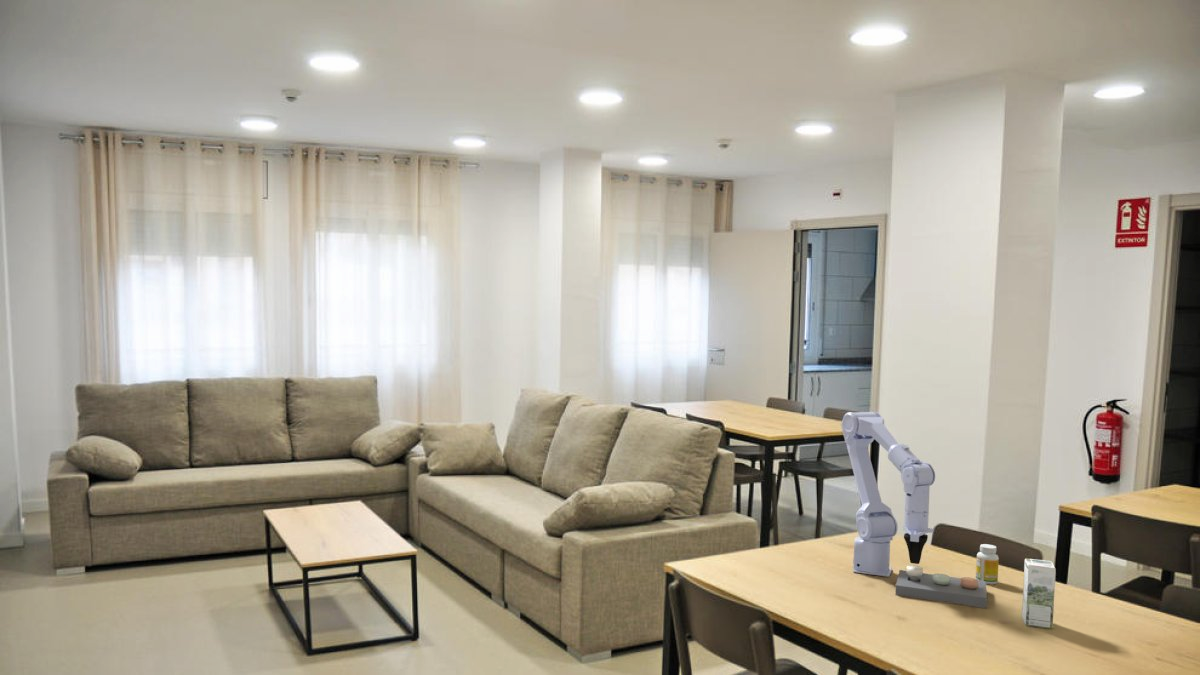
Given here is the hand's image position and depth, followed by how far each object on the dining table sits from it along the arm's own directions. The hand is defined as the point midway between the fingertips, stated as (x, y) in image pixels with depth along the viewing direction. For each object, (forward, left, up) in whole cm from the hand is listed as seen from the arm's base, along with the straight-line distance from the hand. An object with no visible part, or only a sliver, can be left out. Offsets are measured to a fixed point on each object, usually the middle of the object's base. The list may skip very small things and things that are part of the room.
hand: (914, 562), depth 220 cm
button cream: (0, 0, -5) cm, 5 cm away
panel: (+6, 0, -7) cm, 9 cm away
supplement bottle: (+17, +16, -7) cm, 25 cm away
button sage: (+6, 0, -6) cm, 9 cm away
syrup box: (+27, -13, -7) cm, 31 cm away
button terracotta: (+13, 0, -6) cm, 14 cm away
